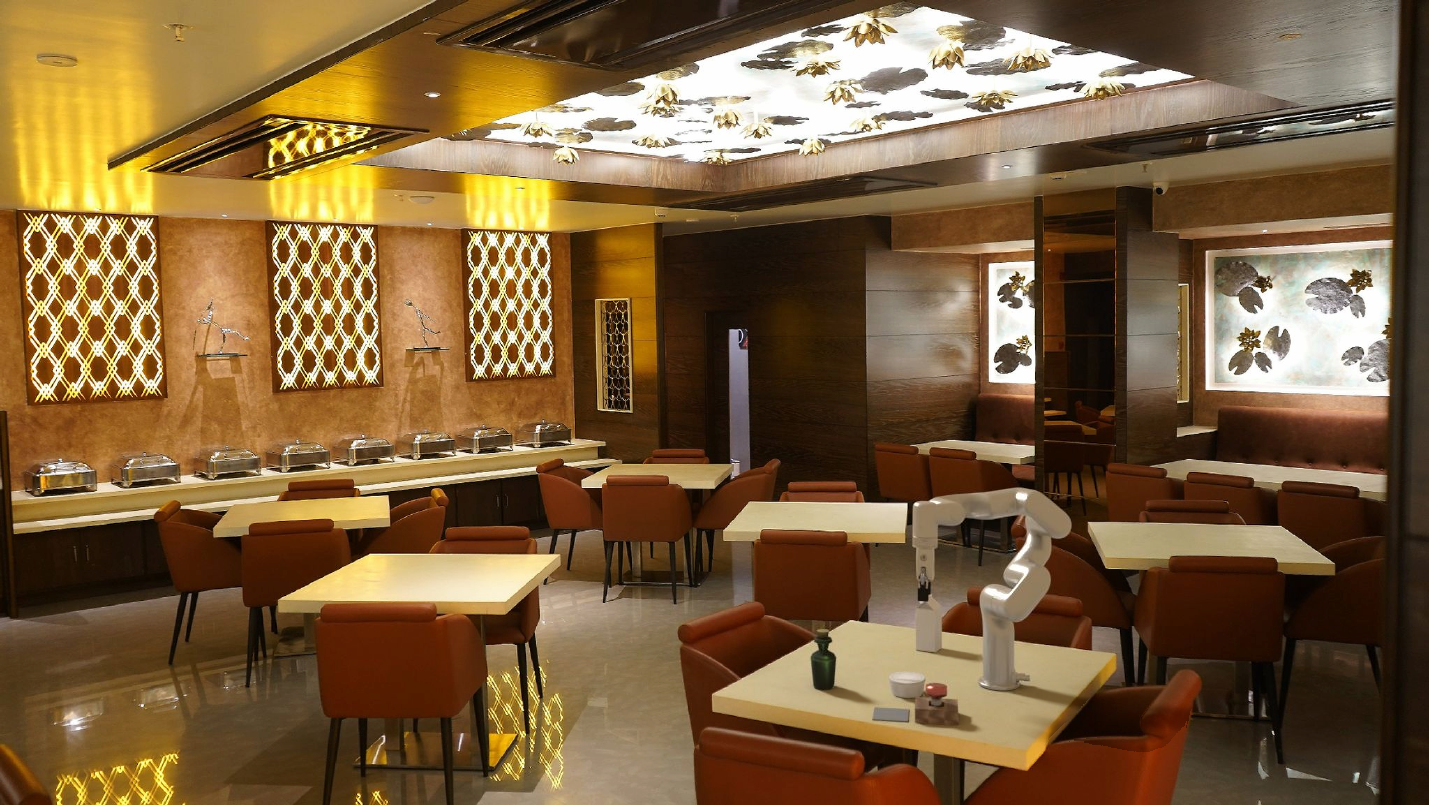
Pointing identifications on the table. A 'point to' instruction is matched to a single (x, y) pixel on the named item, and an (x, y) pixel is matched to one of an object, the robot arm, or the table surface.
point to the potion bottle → (823, 662)
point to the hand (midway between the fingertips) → (924, 597)
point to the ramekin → (907, 684)
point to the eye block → (936, 711)
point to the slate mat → (890, 714)
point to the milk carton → (929, 626)
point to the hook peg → (936, 693)
